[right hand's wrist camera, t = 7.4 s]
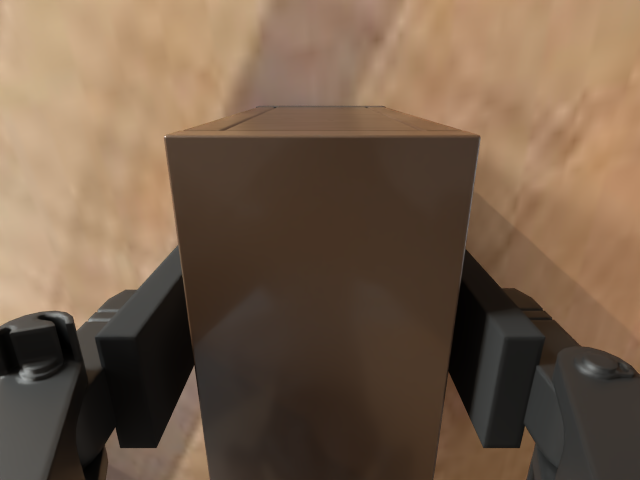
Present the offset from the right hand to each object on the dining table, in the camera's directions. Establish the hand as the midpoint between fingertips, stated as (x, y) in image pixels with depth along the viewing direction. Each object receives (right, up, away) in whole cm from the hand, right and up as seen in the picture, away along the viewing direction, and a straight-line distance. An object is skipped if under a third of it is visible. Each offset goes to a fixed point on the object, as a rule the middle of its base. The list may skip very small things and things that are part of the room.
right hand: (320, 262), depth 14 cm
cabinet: (0, -1, +6) cm, 7 cm away
